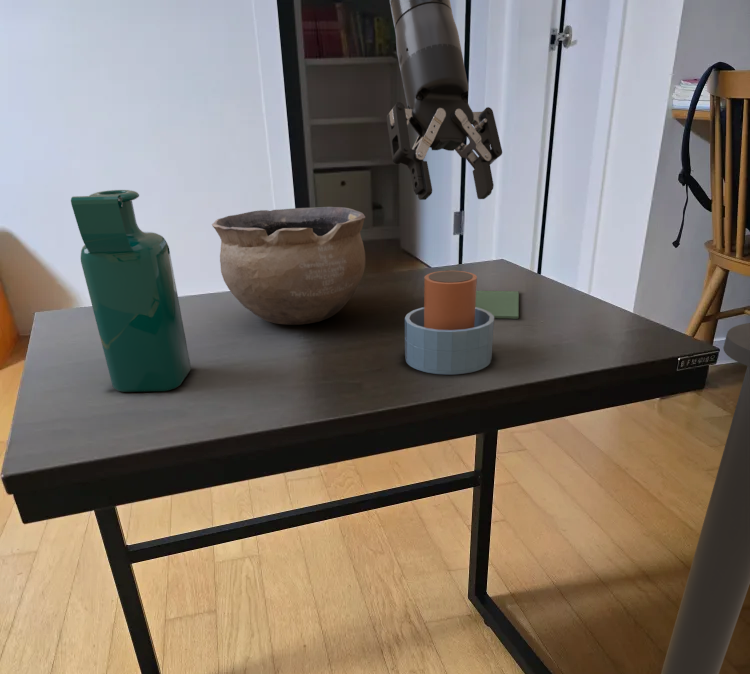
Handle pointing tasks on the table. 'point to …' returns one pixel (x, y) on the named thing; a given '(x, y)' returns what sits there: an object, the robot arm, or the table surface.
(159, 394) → the table surface
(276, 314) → the ceramic bowl
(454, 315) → the small pot
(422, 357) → the big pot
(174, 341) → the green detergent bottle
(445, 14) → the robot arm
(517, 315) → the mat
